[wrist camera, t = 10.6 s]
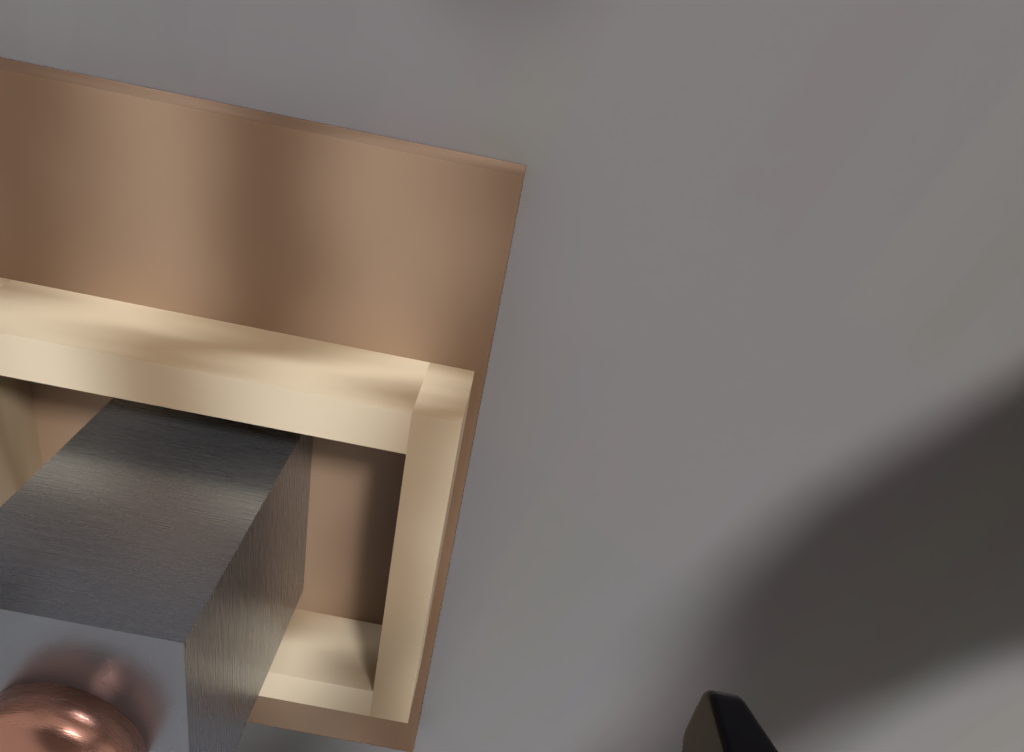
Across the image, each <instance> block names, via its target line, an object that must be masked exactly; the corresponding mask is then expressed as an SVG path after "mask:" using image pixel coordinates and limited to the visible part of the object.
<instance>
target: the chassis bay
mask: <svg viewBox="0 0 1024 752" xmlns="http://www.w3.org/2000/svg"><path fill="white" fill-rule="evenodd" d="M525 170H526V165H522V164H517V163H512V162H507V161H502V160H497V159H492V158H488V157H483V156H478V155H473V154H468V153H463V152H458V151H454V150H449V149H444V148H439V147H434V146H429V145H424V144H419V143H415V142H410V141H405V140H400V139H395V138H390V137H385V136H381V135H376V134H371V133H366V132H361V131H356V130H351V129H346V128H342V127H337V126H332V125H327V124H322V123H317V122H312V121H308V120H303V119H298V118H293V117H288V116H283V115H278V114H273V113H269V112H264V111H259V110H254V109H249V108H244V107H239V106H235V105H230V104H225V103H220V102H215V101H210V100H205V99H201V98H196V97H191V96H186V95H181V94H176V93H171V92H166V91H162V90H157V89H152V88H147V87H142V86H137V85H132V84H128V83H123V82H118V81H113V80H108V79H103V78H98V77H93V76H89V75H84V74H79V73H74V72H69V71H64V70H59V69H55V68H50V67H45V66H40V65H35V64H30V63H25V62H20V61H16V60H11V59H6V58H1V57H0V507H1V506H2V505H3V504H4V503H5V502H6V501H7V500H8V499H9V498H10V497H11V496H12V495H13V494H14V493H15V492H17V491H18V490H19V489H20V488H21V487H22V486H23V485H24V484H25V483H26V482H27V481H28V480H29V479H30V478H31V477H32V476H33V475H34V474H35V473H36V472H37V471H38V470H39V469H40V468H41V467H42V466H43V465H44V464H45V463H46V462H48V461H49V460H50V459H51V458H52V457H53V456H54V455H55V454H56V453H57V452H58V451H59V450H60V449H61V448H62V447H63V446H64V445H65V444H66V443H67V442H68V441H69V440H70V439H71V438H72V437H73V436H74V435H75V434H76V433H77V432H79V431H80V430H81V429H82V428H83V427H84V426H85V425H86V424H87V423H88V422H89V421H90V420H91V419H92V418H93V417H94V416H95V415H96V414H97V413H98V412H99V411H100V410H101V409H102V408H103V407H104V406H105V405H106V404H107V403H108V402H110V401H111V400H112V399H113V398H114V397H115V398H120V399H125V400H130V401H135V402H140V403H145V404H151V405H156V406H161V407H166V408H171V409H176V410H181V411H187V412H192V413H197V414H202V415H207V416H212V417H217V418H222V419H228V420H233V421H238V422H243V423H248V424H253V425H258V426H264V427H269V428H274V429H279V430H284V431H289V432H294V433H300V434H305V435H310V436H313V446H312V462H311V478H310V493H309V509H308V525H307V541H306V556H305V572H304V588H303V592H302V594H301V597H300V599H299V601H298V604H297V606H296V608H295V611H294V613H293V615H292V618H291V620H290V622H289V625H288V627H287V629H286V632H285V634H284V637H283V639H282V641H281V644H280V646H279V648H278V651H277V653H276V655H275V658H274V660H273V662H272V665H271V667H270V669H269V672H268V674H267V676H266V679H265V681H264V683H263V686H262V688H261V690H260V693H259V695H258V697H257V700H256V702H255V704H254V707H253V709H252V711H251V714H250V716H249V718H248V721H247V722H251V723H256V724H262V725H267V726H273V727H278V728H283V729H289V730H294V731H300V732H305V733H311V734H316V735H321V736H327V737H332V738H338V739H343V740H348V741H354V742H359V743H365V744H370V745H376V746H381V747H386V748H392V749H397V750H403V751H408V752H413V749H414V745H415V740H416V735H417V730H418V725H419V720H420V714H421V709H422V704H423V699H424V694H425V688H426V683H427V678H428V673H429V668H430V663H431V657H432V652H433V647H434V642H435V637H436V631H437V626H438V621H439V616H440V611H441V605H442V600H443V595H444V590H445V585H446V580H447V574H448V569H449V564H450V559H451V554H452V548H453V543H454V538H455V533H456V528H457V523H458V517H459V512H460V507H461V502H462V497H463V491H464V486H465V481H466V476H467V471H468V465H469V460H470V455H471V450H472V445H473V440H474V434H475V429H476V424H477V419H478V414H479V408H480V403H481V398H482V393H483V388H484V383H485V377H486V372H487V367H488V362H489V357H490V351H491V346H492V341H493V336H494V331H495V325H496V320H497V315H498V310H499V305H500V300H501V294H502V289H503V284H504V279H505V274H506V268H507V263H508V258H509V253H510V248H511V243H512V237H513V232H514V227H515V222H516V217H517V211H518V206H519V201H520V196H521V191H522V185H523V180H524V175H525Z"/></svg>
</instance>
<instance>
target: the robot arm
mask: <svg viewBox="0 0 1024 752" xmlns="http://www.w3.org/2000/svg"><path fill="white" fill-rule="evenodd" d="M682 752H778V751H777V750H776V748H775V747H774V745H773V744H772V742H771V741H770V739H769V738H768V736H767V735H766V733H765V732H764V730H763V729H762V727H761V726H760V724H759V723H758V722H757V720H756V719H755V717H754V716H753V714H752V713H751V711H750V710H749V708H748V707H747V705H746V704H745V702H744V701H743V700H742V699H741V698H740V697H738V696H736V695H733V694H728V693H723V692H717V691H707V692H705V693H704V694H703V696H702V697H701V699H700V701H699V703H698V705H697V707H696V709H695V712H694V714H693V716H692V718H691V720H690V722H689V724H688V726H687V728H686V731H685V734H684V739H683V750H682Z"/></svg>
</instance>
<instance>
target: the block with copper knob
mask: <svg viewBox="0 0 1024 752" xmlns="http://www.w3.org/2000/svg"><path fill="white" fill-rule="evenodd" d="M312 446H313V436H310V435H305V434H300V433H294V432H289V431H284V430H279V429H274V428H269V427H264V426H258V425H253V424H248V423H243V422H238V421H233V420H228V419H222V418H217V417H212V416H207V415H202V414H197V413H192V412H187V411H181V410H176V409H171V408H166V407H161V406H156V405H151V404H145V403H140V402H135V401H130V400H125V399H120V398H115V397H114V398H113V399H112V400H111V401H110V402H108V403H107V404H106V405H105V406H104V407H103V408H102V409H101V410H100V411H99V412H98V413H97V414H96V415H95V416H94V417H93V418H92V419H91V420H90V421H89V422H88V423H87V424H86V425H85V426H84V427H83V428H82V429H81V430H80V431H79V432H77V433H76V434H75V435H74V436H73V437H72V438H71V439H70V440H69V441H68V442H67V443H66V444H65V445H64V446H63V447H62V448H61V449H60V450H59V451H58V452H57V453H56V454H55V455H54V456H53V457H52V458H51V459H50V460H49V461H48V462H46V463H45V464H44V465H43V466H42V467H41V468H40V469H39V470H38V471H37V472H36V473H35V474H34V475H33V476H32V477H31V478H30V479H29V480H28V481H27V482H26V483H25V484H24V485H23V486H22V487H21V488H20V489H19V490H18V491H17V492H15V493H14V494H13V495H12V496H11V497H10V498H9V499H8V500H7V501H6V502H5V503H4V504H3V505H2V506H1V507H0V752H234V751H235V749H236V747H237V744H238V742H239V740H240V737H241V735H242V733H243V730H244V728H245V726H246V723H247V721H248V718H249V716H250V714H251V711H252V709H253V707H254V704H255V702H256V700H257V697H258V695H259V693H260V690H261V688H262V686H263V683H264V681H265V679H266V676H267V674H268V672H269V669H270V667H271V665H272V662H273V660H274V658H275V655H276V653H277V651H278V648H279V646H280V644H281V641H282V639H283V637H284V634H285V632H286V629H287V627H288V625H289V622H290V620H291V618H292V615H293V613H294V611H295V608H296V606H297V604H298V601H299V599H300V597H301V594H302V592H303V588H304V572H305V556H306V541H307V525H308V509H309V493H310V478H311V462H312Z"/></svg>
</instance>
